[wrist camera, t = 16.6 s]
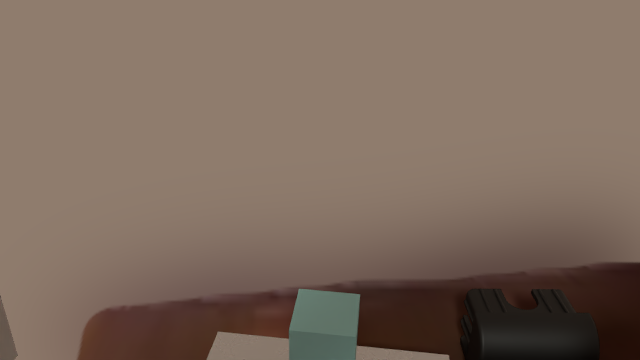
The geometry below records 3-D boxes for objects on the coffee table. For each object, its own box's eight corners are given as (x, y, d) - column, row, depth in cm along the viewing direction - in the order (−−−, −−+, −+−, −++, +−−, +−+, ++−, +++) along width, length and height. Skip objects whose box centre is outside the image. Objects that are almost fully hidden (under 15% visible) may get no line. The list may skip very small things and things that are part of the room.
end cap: (472, 398, 48) (484, 337, 45) (453, 339, 54) (463, 283, 51) (588, 398, 48) (608, 338, 45) (556, 340, 55) (571, 283, 52)
